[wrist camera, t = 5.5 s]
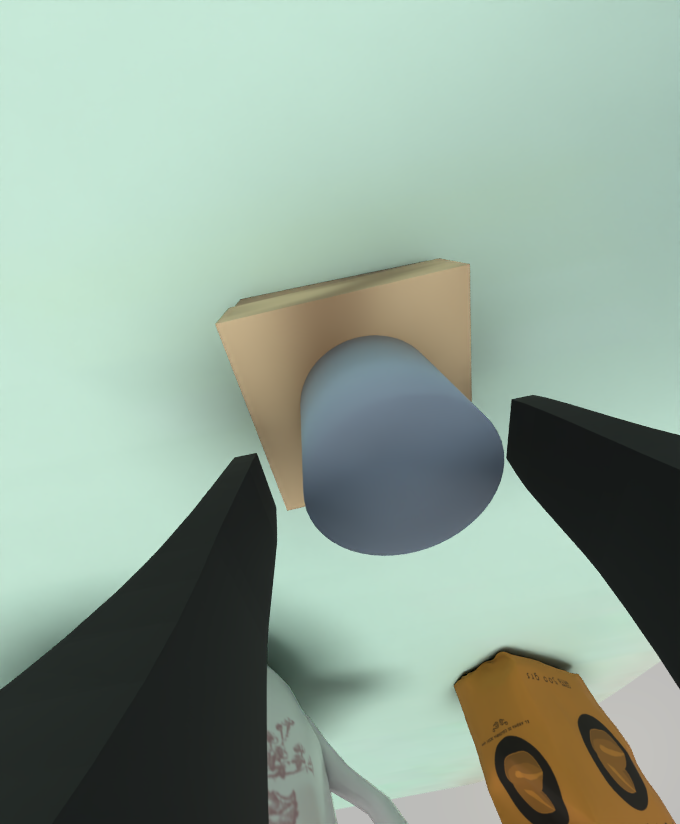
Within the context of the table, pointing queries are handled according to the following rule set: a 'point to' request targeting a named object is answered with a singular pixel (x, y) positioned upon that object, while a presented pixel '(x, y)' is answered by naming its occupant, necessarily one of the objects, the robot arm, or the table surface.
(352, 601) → the table surface
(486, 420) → the round block
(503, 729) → the coffee package
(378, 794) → the chamber pot
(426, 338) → the oak slab
